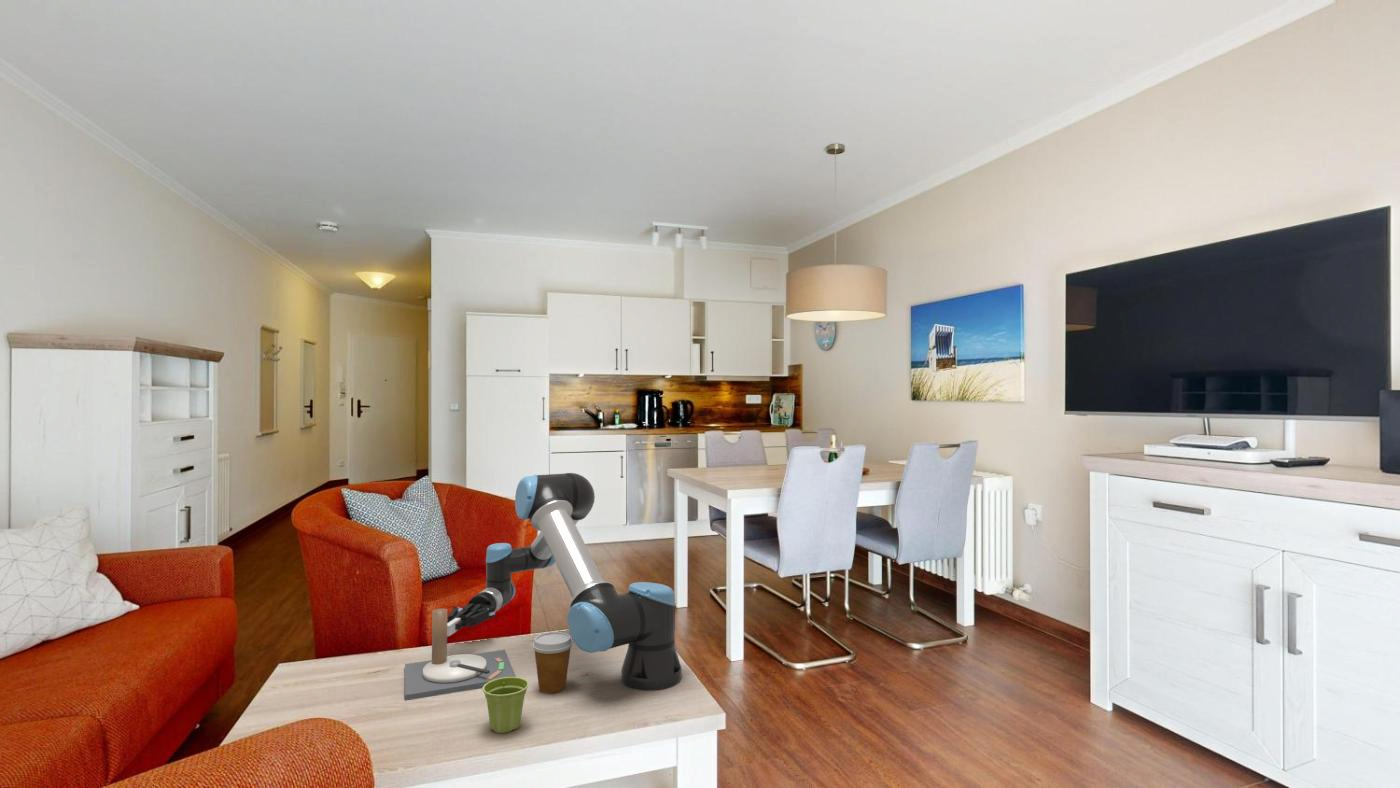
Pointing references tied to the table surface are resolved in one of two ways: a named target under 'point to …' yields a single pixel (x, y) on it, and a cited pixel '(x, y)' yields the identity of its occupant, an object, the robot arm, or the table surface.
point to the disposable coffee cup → (552, 660)
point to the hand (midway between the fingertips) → (446, 631)
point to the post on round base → (449, 666)
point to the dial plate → (423, 688)
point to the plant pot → (505, 702)
